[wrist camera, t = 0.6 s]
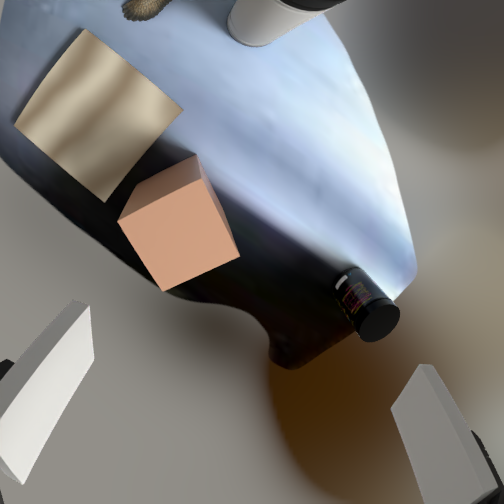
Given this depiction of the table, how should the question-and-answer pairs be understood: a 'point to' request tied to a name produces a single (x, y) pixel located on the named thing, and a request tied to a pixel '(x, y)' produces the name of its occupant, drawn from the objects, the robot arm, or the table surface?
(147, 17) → the eagle figurine
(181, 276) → the peach squarish block
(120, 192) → the table surface
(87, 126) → the birch pad
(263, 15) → the travel mug
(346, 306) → the supplement container
